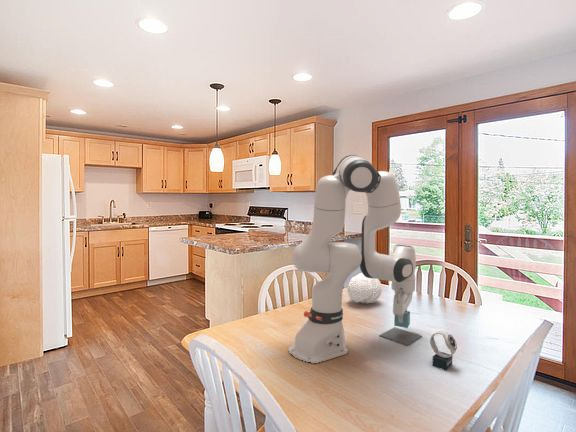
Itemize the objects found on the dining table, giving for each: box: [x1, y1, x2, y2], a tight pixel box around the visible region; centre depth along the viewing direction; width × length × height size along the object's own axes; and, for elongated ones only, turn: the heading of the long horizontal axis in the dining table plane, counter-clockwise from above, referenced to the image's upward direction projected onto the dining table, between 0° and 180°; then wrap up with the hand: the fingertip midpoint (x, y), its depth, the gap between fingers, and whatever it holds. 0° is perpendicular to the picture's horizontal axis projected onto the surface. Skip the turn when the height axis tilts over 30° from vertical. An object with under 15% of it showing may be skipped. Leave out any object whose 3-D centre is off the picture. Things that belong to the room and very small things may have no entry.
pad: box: [378, 326, 423, 347], centre depth 134 cm, size 12×12×1 cm
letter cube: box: [393, 310, 411, 329], centre depth 133 cm, size 5×5×5 cm
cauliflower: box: [346, 272, 383, 304], centre depth 174 cm, size 20×18×16 cm
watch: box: [429, 330, 458, 371], centre depth 111 cm, size 6×8×11 cm
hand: (402, 319), depth 133 cm, fingers closed on letter cube, 5 cm apart
